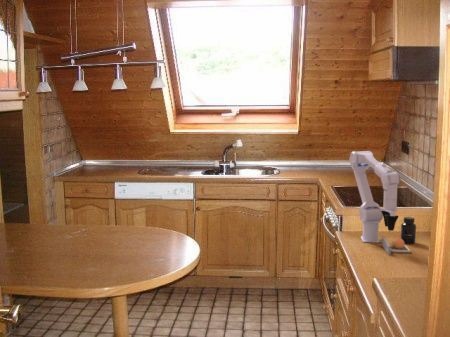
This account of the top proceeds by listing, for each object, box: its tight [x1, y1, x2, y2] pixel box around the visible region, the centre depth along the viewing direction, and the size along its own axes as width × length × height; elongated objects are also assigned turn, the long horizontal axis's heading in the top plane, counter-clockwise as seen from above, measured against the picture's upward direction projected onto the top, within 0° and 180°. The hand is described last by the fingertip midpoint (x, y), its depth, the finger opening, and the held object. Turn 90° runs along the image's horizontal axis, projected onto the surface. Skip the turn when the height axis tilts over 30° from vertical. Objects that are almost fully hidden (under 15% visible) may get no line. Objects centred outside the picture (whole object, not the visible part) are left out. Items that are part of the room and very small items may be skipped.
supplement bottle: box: [399, 216, 417, 245], centre depth 246 cm, size 7×7×12 cm
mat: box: [390, 244, 412, 255], centre depth 235 cm, size 11×9×1 cm
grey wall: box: [381, 235, 392, 256], centre depth 235 cm, size 16×1×4 cm, turn 173°
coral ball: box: [392, 237, 406, 249], centre depth 235 cm, size 5×5×5 cm
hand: (389, 228), depth 236 cm, fingers open, 7 cm apart
